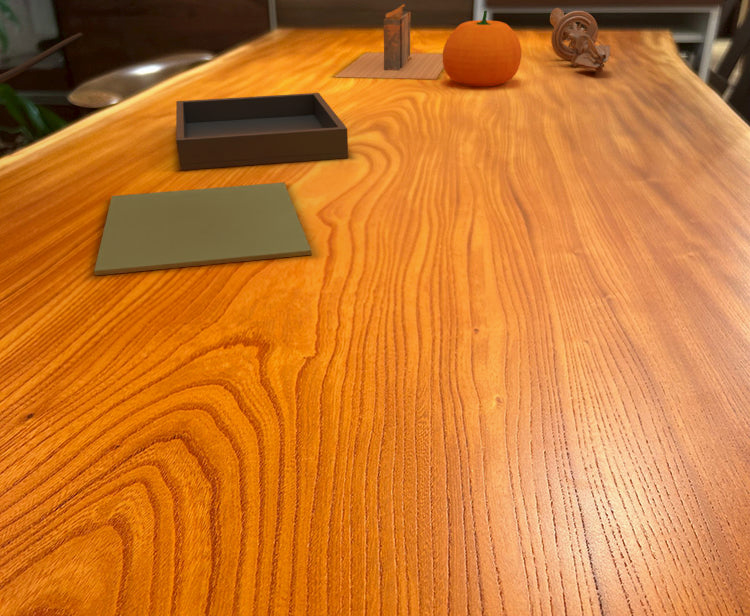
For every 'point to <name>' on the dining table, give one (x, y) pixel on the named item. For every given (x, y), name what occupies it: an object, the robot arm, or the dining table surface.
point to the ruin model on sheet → (396, 55)
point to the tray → (258, 131)
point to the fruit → (482, 53)
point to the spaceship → (578, 39)
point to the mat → (199, 228)
